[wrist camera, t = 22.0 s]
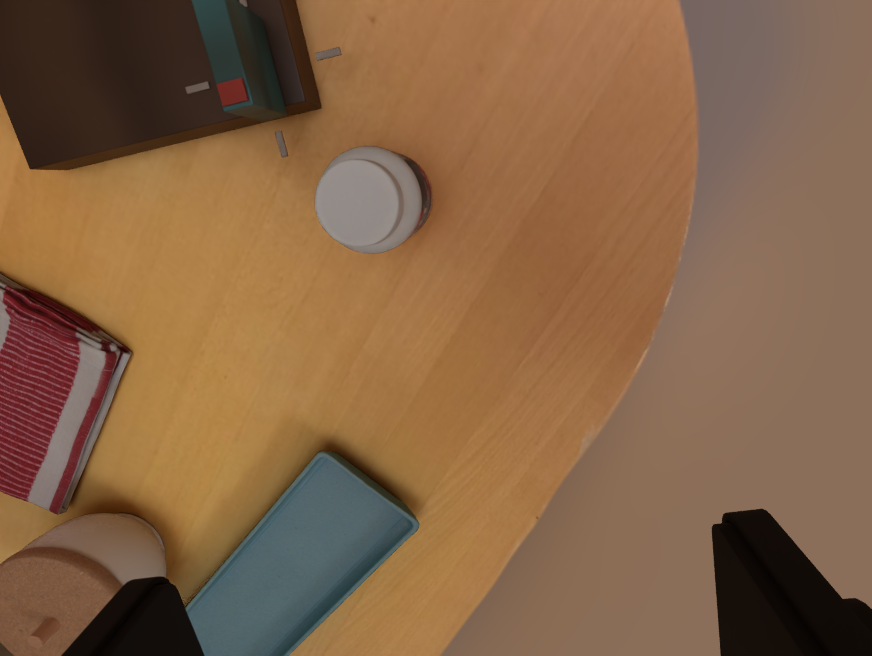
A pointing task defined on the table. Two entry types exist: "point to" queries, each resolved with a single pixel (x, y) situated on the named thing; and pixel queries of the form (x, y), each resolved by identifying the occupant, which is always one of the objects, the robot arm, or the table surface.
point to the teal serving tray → (300, 561)
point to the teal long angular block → (240, 59)
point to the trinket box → (72, 579)
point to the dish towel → (50, 395)
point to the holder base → (129, 76)
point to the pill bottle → (372, 199)
